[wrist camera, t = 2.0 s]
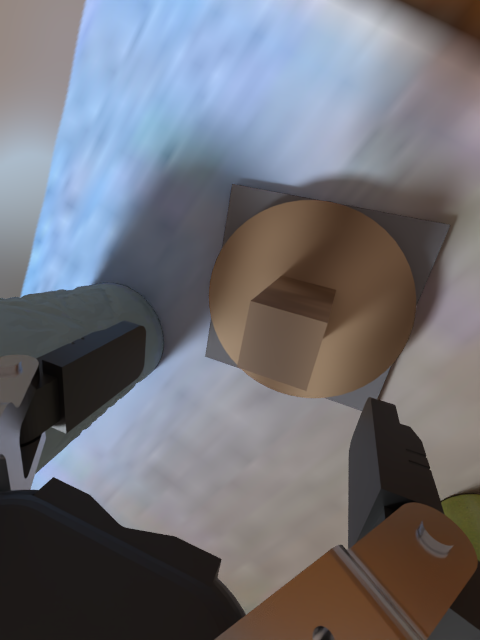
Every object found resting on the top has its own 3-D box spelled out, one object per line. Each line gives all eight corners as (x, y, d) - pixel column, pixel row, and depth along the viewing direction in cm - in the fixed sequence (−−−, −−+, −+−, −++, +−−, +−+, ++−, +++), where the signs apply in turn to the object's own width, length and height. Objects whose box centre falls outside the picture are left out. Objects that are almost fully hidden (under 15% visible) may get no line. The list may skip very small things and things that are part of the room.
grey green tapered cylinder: (147, 404, 28) (15, 524, 17) (61, 342, 29) (-112, 417, 18) (189, 314, 23) (46, 398, 13) (85, 246, 25) (-123, 269, 14)
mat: (447, 224, 16) (450, 224, 16) (370, 408, 21) (371, 413, 20) (235, 184, 19) (232, 183, 19) (208, 353, 24) (205, 356, 23)
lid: (450, 224, 16) (516, 231, 9) (370, 413, 20) (377, 507, 14) (232, 183, 19) (167, 166, 12) (205, 356, 23) (147, 410, 17)
